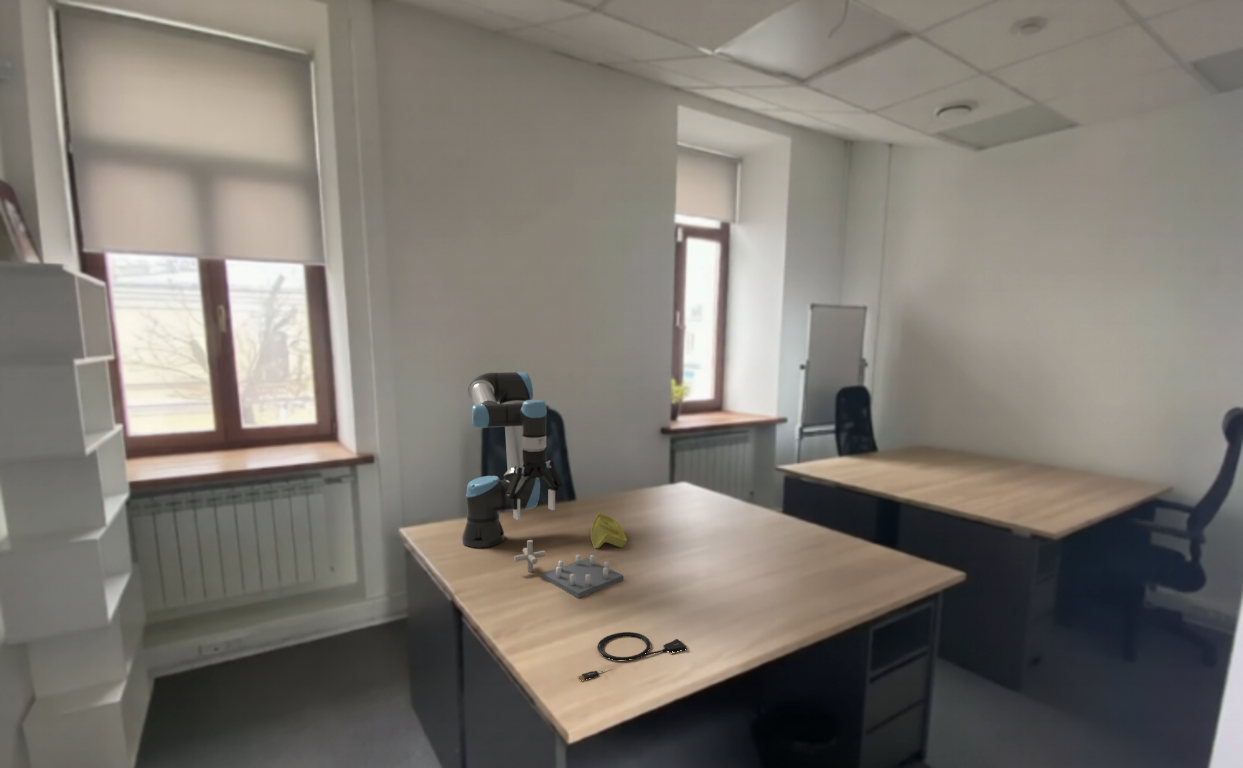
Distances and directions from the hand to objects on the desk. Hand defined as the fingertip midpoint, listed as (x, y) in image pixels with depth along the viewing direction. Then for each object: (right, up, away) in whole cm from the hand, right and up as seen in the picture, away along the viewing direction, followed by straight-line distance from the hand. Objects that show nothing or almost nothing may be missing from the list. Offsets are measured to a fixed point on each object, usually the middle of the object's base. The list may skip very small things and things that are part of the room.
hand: (534, 514), depth 174 cm
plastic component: (+23, -17, +29) cm, 41 cm away
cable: (+29, -23, -43) cm, 57 cm away
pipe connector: (-2, -19, +1) cm, 19 cm away
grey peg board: (+16, -19, -4) cm, 25 cm away
